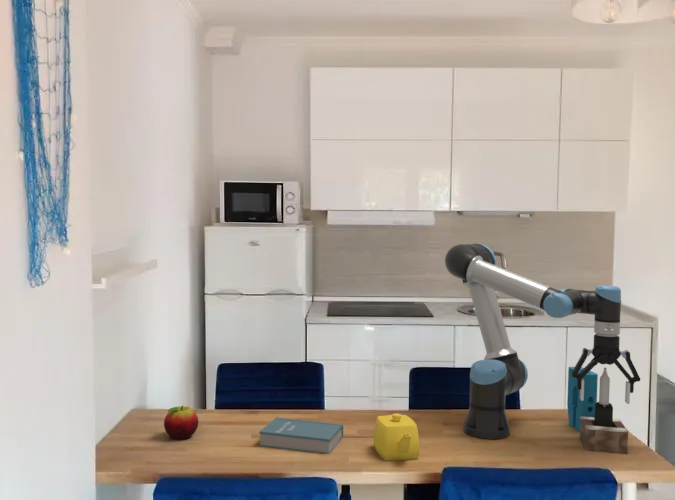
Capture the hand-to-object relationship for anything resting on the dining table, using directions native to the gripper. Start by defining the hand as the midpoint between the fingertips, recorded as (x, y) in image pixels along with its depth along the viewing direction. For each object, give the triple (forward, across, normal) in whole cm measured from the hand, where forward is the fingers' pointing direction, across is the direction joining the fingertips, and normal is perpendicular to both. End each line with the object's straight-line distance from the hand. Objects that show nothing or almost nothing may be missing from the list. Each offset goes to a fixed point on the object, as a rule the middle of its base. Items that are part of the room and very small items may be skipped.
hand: (604, 401), depth 206 cm
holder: (+14, 0, 0) cm, 14 cm away
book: (+15, -93, -21) cm, 97 cm away
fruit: (+14, -132, -26) cm, 135 cm away
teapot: (+14, -63, -24) cm, 69 cm away
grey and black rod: (+14, 0, 0) cm, 14 cm away
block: (+14, -4, +17) cm, 23 cm away
